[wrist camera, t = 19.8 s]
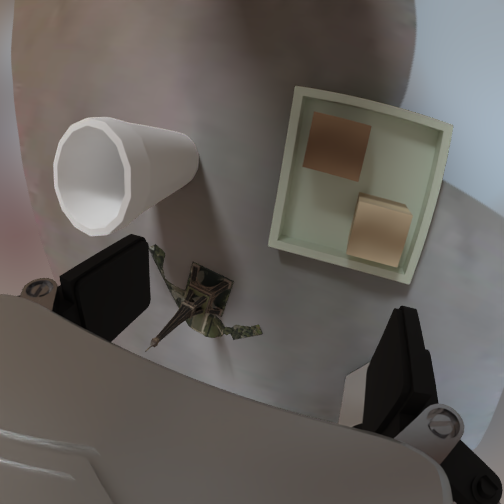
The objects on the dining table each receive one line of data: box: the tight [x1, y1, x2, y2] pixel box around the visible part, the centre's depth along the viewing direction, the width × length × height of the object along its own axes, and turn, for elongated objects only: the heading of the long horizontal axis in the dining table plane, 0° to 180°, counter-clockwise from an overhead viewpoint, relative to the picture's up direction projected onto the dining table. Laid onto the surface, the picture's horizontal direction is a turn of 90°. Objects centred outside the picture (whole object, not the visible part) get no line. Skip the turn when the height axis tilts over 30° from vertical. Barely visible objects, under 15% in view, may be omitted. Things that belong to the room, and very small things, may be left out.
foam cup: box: [53, 117, 199, 236], centre depth 27 cm, size 10×9×13 cm
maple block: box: [346, 192, 413, 268], centre depth 26 cm, size 4×4×4 cm
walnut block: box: [302, 111, 372, 182], centre depth 24 cm, size 4×4×4 cm
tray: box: [268, 86, 453, 285], centre depth 27 cm, size 15×14×3 cm
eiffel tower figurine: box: [145, 244, 262, 352], centre depth 32 cm, size 15×10×13 cm
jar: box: [338, 362, 370, 430], centre depth 29 cm, size 9×8×12 cm
